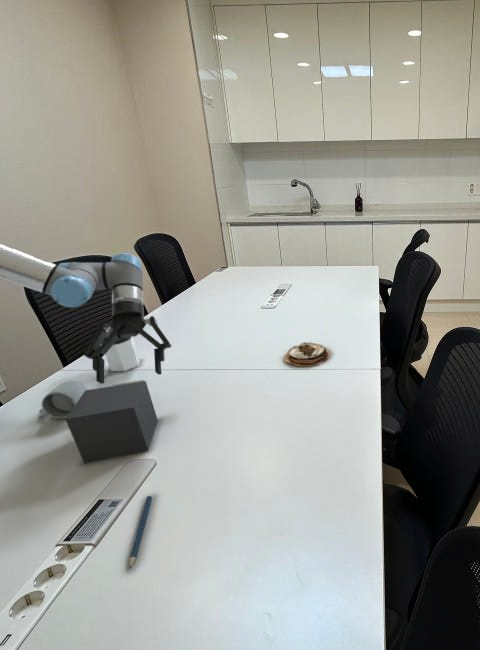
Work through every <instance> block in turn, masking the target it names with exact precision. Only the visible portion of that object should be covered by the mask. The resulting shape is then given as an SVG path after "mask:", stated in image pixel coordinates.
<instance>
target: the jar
mask: <svg viewBox="0 0 480 650" xmlns="http://www.w3.org/2000/svg"><path fill="white" fill-rule="evenodd" d="M112 331H113V329H112V328H111V329H109V332H107V333H106V336H105V338H104V339H103V341H102V343H103V342H104V341H105V340H106V339H107V338H108V336H109V335H110V333H111V332H112ZM116 335H117V334H116ZM102 343H101V344H102ZM104 356H105V357H106V360H107V363H108V366H109V369H110V371H111V372H126V371H129V370H131V369H134V368H136V367H139V365H140V360H141V359H140V356H139V352H138V349H137V346H136V343H135V340H134V337H131V336H130V337H127V338H123V337H121V338H120V340H118V341H116V342H115V344H114V345H113V346H112V347H111V348H110V349H109V350H108V351H107V353H106V354H105V355H104Z"/></svg>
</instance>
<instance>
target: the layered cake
mask: <svg viewBox="0 0 480 650" xmlns="http://www.w3.org/2000/svg"><path fill="white" fill-rule="evenodd" d="M330 356H331V353H330V350H328V349H327V348H326V347H325V346H324V345H323V344H320V343H315V342H307V341H304V342H302V343H300V344H299V343H298V345H297V344H296V345H294V346H292V347H290V348H289V349H288V351H287V352H286V353H285V355H284V361H285V362H286V363H288V364H289V365H292V366H294V367H295V366H296V367H314V366H317V365H320V364H322V363H325V362H326V361H327V360H329V358H330Z"/></svg>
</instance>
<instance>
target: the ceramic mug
mask: <svg viewBox="0 0 480 650" xmlns="http://www.w3.org/2000/svg"><path fill="white" fill-rule="evenodd" d="M85 390H88V389H87V387H86V386H85V385H84V384H83V383H82V382H80V381H77V380H67V381H63V382H62V383H60V384H59V385H57V386H56V387H55V388H54V389H52V390H51V391H50V392H48V393H47V394H45V396H44V397H43V398H42V400H41V408H40V409H39V410H38V413H39V414H40V415H41V416H47V415H48V416H50V417H52V418H55V419H66V417H67V416H68V415H69V413H70V412H71V410H72V409H73V407H74V406H75V405H76V403H77V402H78V400H79V399H80V397H81V396H82V395H83V393H84V392H85Z"/></svg>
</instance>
